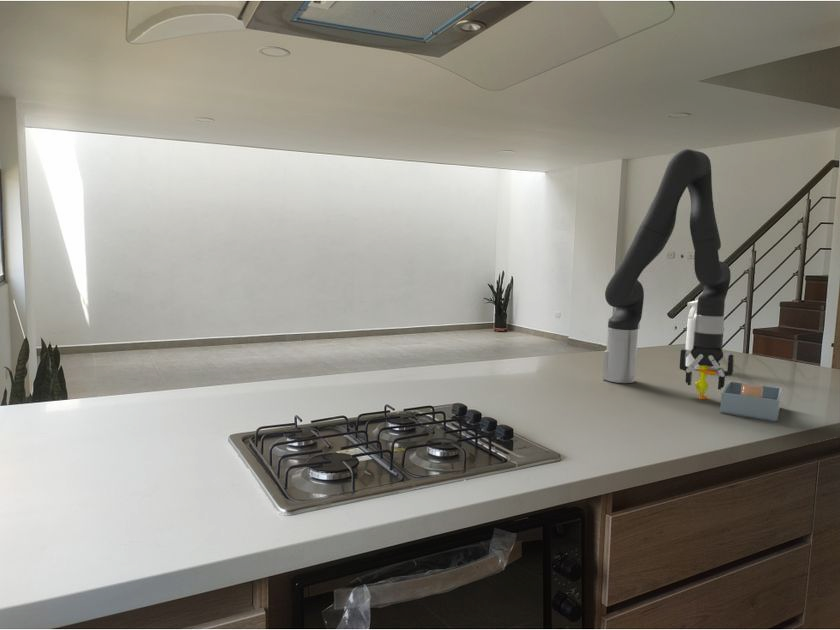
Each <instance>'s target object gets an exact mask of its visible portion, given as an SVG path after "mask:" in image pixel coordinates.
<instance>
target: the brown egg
mask: <svg viewBox="0 0 840 630" xmlns="http://www.w3.org/2000/svg"><path fill="white" fill-rule="evenodd" d="M743 383H744V384H742V385H741V394H740V395H744V396H751V397H758V398H762V394H763V387H762V386H763V385H762V386H760V385H761V384H757V383H746V382H743Z"/></svg>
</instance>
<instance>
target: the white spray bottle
mask: <svg viewBox="0 0 840 630" xmlns="http://www.w3.org/2000/svg"><path fill="white" fill-rule="evenodd" d="M697 303H698V299H696V300H692V301H688V302H687V305H686V306H690V307H691V308H690V309H689V312H688V315H687V327H686V337H685V339H686V340H685V349H686V350H692V349H693V342H694V329H695V320H696V315H697ZM694 360H695V359H694V358H693V356H692V355H691V354H689V356H688V357H686V365H685V366H687V367H689V366H690V365H691V364H692V362H693V361H694ZM699 367H700V365H699V364H697V365H696V366H695V367H694V368H693V369H692V370H697V371H698V369H699Z"/></svg>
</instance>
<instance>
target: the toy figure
mask: <svg viewBox="0 0 840 630" xmlns="http://www.w3.org/2000/svg"><path fill="white" fill-rule="evenodd" d="M697 371H698V372H699V373H698V375H699V380H698V381H694V382H695V390H696V391H697V393H699V396H698V399H700V400H708V399H709V398H708V396H706V395H705V393H706V392H707V391H708V388H709V384H708V382H707V381H706V379H707V375H709V376H715V375H716V374H717V373H718V371H717V370H713V369H711V368H709V366H706V365H705V366H700V367H699V369H698V370H697Z"/></svg>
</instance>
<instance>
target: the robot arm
mask: <svg viewBox="0 0 840 630" xmlns="http://www.w3.org/2000/svg"><path fill="white" fill-rule="evenodd" d="M711 164H712V163H711V159H710V158H709V156H708V155H707V154H705V153H704V152H702V151H699V150H695V149H688V148H687V149H686V148H684V149H681V150H679V151H677V152H675V154H673V155H672V157H671V158H670V160H669V161H668V163H667V166H666V168H665V171H664V173H663V176H662V178H661V181H660V184H659V187H658V190H657V192H656V194H655V196H654V198H653V199H652V202H650V203H651V204H650V206H649V207H648V210H647V211H646V214H645V216H644V218H643V220H642V221H641V223H640V225H639V227H638V229H637V231H636V232H635V236H634V237H633V239H632V242H631V244H630V246H629V247H628V250H627V251H626V253H625V255H624V257H623V259H622V261H621V263H620V264H619V266H618V267H617V269H616V271H615V273H614V274H613V276H612V277H611V278H610V279H609V282H608V284H607V286H606V288H605V294H604V296H605V301H606V303H607V304H608V305H609V307H612V308H615V309H616V310H615V312H614V313H613V315H612V316H611V317H610V318H608V321H607V337H606V339H607V340H606V350H604V355H603V370H602V372H603V373H602V380H604V381H608V382H611V383H617V384H631V383H632V384H633V383H634V382H635V378H636V377H635V376H636V365H637V364H636V363H637V347H638V333H639V325H640V322H641V320H642V318H643V317H642V316H643V310H644V309H643V308H644V307H643V306H644V301H645V292H644V287H643V285H642V282H640V281H639V278H640V276H641V274H642V273H643V272H644V270H645V268H646V267H648V266H649V265H650V264H651V263H652V262H653V261H654V260H655V259H656V258H657V257H658V256H659V255H660V253H661V252H662V251H663V250H664V248H665V247H666V245H667V243H668V242H669V240H670V237H671V236H672V234H673V232H674V230H675V229H674V228H675V226H676V221H677V211H678V207H679V203H680V200H681V199H682V196H683V195H684V193H685V190H686V189H687V190H688V193H689V198H690V214H689V232H690V236H691V241H692V246H693V250H694V253H693V254H694V255H693V260H694V262H693V264H694V265H693V266H694V273H695V276H696V279H697V281H698V282H699V283H700V284H701V285H703V288H702V289H703V290H702V293H701V295H699V296H698V299H697V300H698V303H697V315H696V320H695V329H694V342H693V349H692V350H686V348H682V349H681V350H680V356H679V357H680V358H679V369H680V370H681V371H682V370H683V371H684V372H685V379H684V382H685V384H687V386H692V379H693V372H692V371H693V370H694V369H693V368H694V367H695V366H696V365H697V364H699V365H700V366H705V365H706V366H708V368H709V367H710V368H712V367H714V369H715V371H716V372H717V373H718V375H719V376H718V384H717V390H722V389H724V388H725V383H726V382H725V381H726V377H728V376H729V377H730V376H732V375H733V373H734V366H735V365H734V362H735V354H734V353H724V351H723V346H724V345H723V343H724V332H725V318H724V317H725V306H726V304H725V301H726V298H727V296H728V295H727V294H728V291H729V288H730V283H731V278H732V277H731V275H732V274H731V268H730V267H729V265H728V264H727V263H725V262H723V261H720V257H719V250H720V249H721V247H722V243H721V239H720V238H721V237H720V233H719V228H718V223H717V218H716V213H715V207H714V196H713V185H712V183H713V181H712V165H711ZM689 354H691V355H692V356H693V358H694V359H695V360H694V361H693V362H692V364H691V365H690V366H689V367H687V366H685V365H686V357H688V356H689ZM722 359H724V360H725V362H727V370H724V368H723V366H722V364H721V363H720V361H721V360H722Z"/></svg>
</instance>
